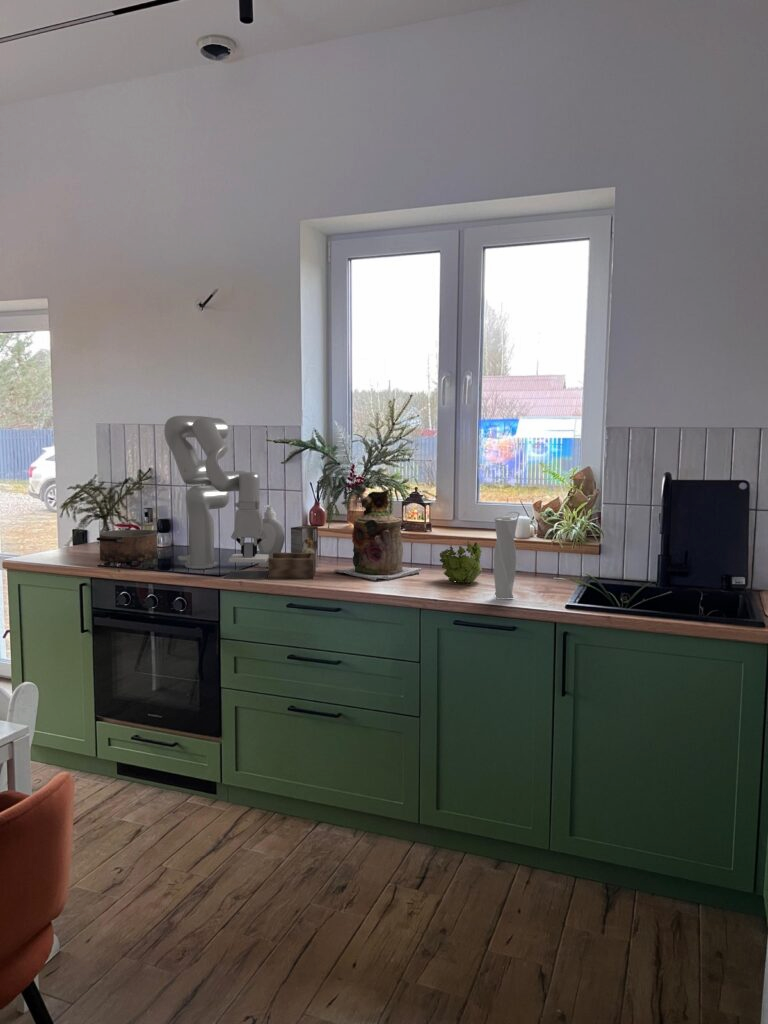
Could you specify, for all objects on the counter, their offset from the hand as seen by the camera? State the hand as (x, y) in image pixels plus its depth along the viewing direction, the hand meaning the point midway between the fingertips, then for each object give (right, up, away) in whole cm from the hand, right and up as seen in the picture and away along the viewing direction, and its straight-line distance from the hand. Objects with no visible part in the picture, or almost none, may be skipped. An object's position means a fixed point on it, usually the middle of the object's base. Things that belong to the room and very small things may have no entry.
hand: (249, 555), depth 280 cm
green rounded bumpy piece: (+77, -9, -7) cm, 78 cm away
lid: (0, -2, 0) cm, 2 cm away
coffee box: (+18, -6, +18) cm, 27 cm away
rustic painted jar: (+47, -8, +7) cm, 48 cm away
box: (+16, -7, +1) cm, 18 cm away
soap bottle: (+4, -6, +18) cm, 19 cm away
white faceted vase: (+89, -12, -33) cm, 95 cm away
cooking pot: (-56, -4, +34) cm, 66 cm away
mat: (-1, -7, +1) cm, 7 cm away
